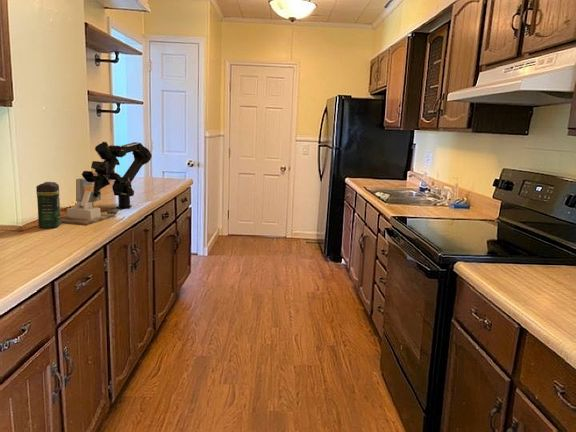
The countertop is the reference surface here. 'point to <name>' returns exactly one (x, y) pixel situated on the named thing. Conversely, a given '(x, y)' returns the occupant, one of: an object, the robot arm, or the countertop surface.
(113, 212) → the twin rounded prongs
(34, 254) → the countertop surface
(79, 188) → the circuit breaker
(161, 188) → the countertop surface
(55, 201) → the coffee jar
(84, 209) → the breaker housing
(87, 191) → the lever
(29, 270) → the countertop surface
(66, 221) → the mounting board
